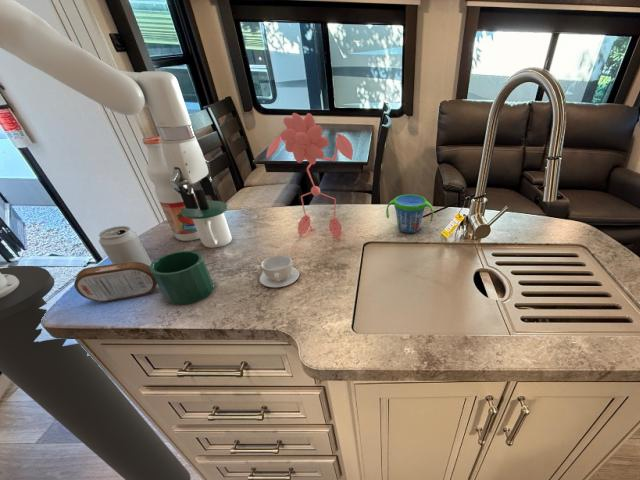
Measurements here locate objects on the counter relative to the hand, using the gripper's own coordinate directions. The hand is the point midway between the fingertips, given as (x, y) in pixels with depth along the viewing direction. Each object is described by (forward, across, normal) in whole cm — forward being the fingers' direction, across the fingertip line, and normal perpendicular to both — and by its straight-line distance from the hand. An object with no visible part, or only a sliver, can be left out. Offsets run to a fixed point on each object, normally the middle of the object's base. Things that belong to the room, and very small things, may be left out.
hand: (201, 201), depth 89 cm
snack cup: (+14, -15, +58) cm, 62 cm away
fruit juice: (+14, -6, -11) cm, 18 cm away
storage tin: (+13, +24, +4) cm, 28 cm away
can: (+14, +16, -13) cm, 25 cm away
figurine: (+14, -4, +29) cm, 33 cm away
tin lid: (+3, 0, 0) cm, 3 cm away
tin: (+14, +26, -9) cm, 31 cm away
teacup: (+14, +17, +24) cm, 32 cm away
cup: (+14, 0, 0) cm, 14 cm away
